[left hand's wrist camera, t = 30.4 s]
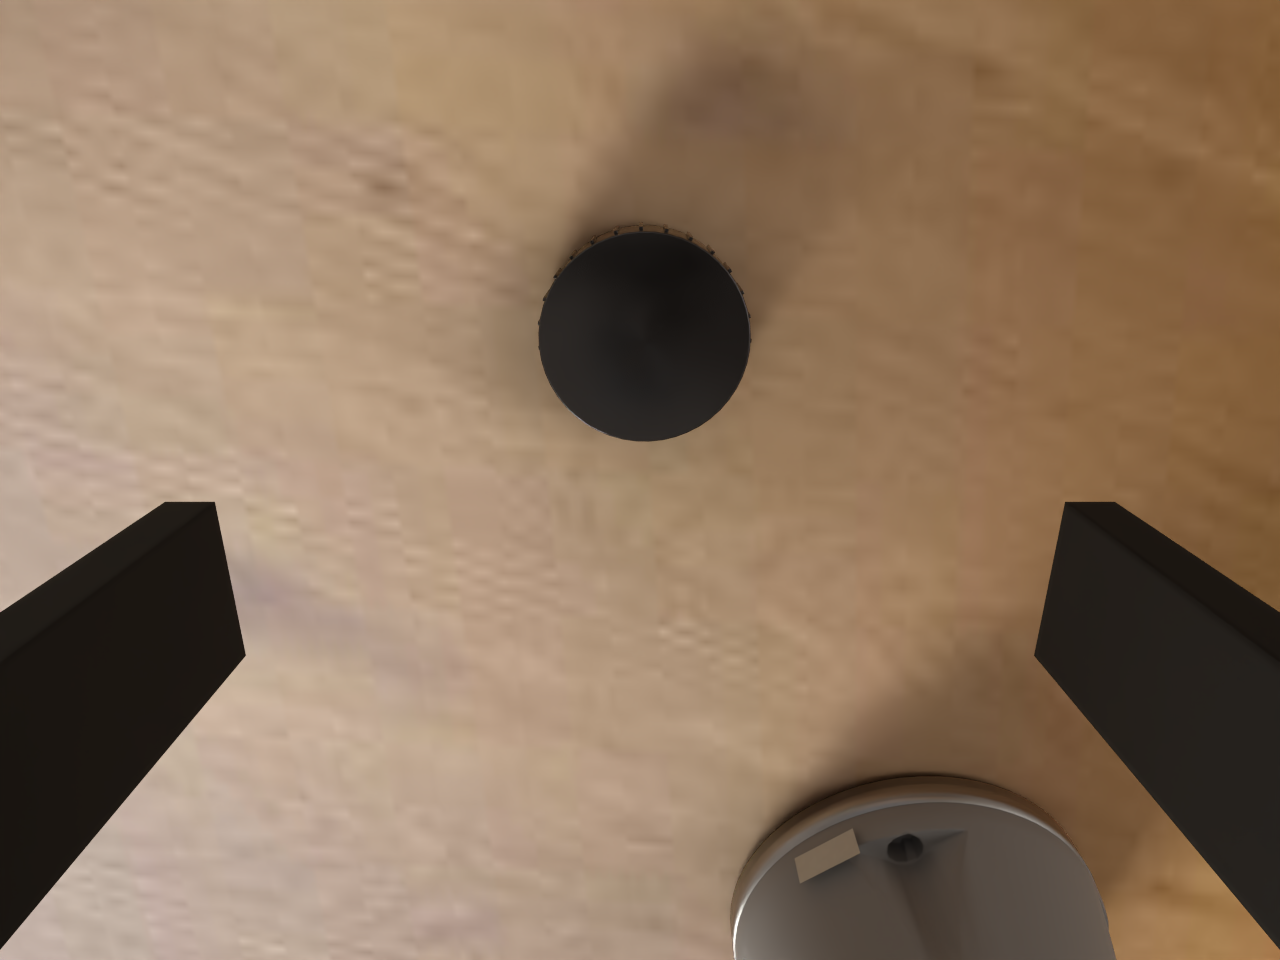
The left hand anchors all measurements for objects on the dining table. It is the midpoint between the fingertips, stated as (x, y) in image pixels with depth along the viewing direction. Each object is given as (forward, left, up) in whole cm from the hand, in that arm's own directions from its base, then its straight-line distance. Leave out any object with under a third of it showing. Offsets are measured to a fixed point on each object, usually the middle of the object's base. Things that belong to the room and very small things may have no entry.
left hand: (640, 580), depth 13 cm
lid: (0, -1, -12) cm, 12 cm away
